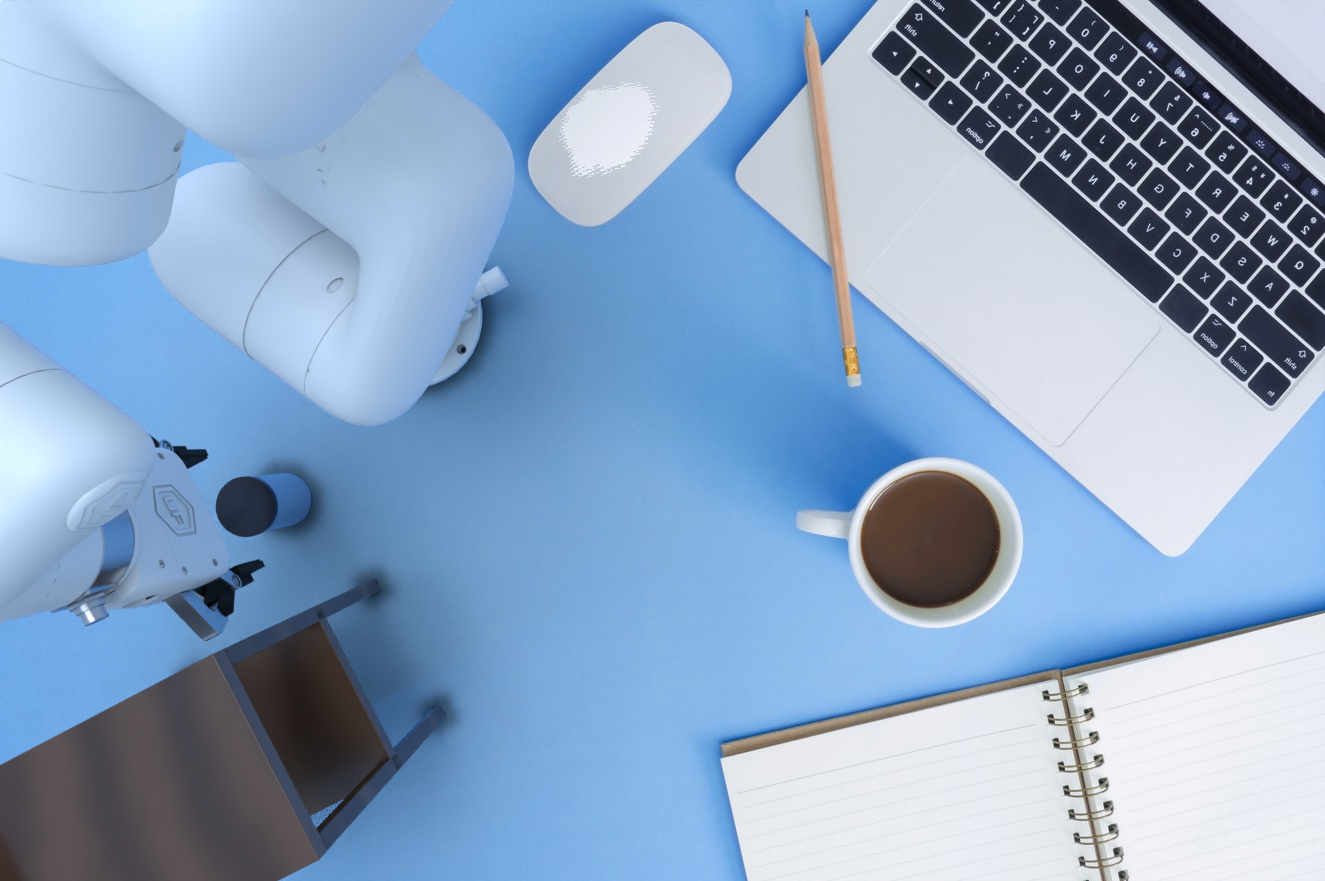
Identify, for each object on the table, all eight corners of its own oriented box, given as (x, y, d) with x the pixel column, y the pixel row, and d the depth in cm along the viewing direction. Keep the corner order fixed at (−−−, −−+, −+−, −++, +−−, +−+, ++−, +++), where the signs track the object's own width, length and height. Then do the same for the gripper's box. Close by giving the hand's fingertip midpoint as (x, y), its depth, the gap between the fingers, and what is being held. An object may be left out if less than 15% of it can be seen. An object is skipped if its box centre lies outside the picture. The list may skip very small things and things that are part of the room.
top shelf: (223, 648, 54) (193, 662, 51) (328, 850, 54) (304, 877, 51) (-50, 791, 55) (-96, 813, 52) (52, 989, 55) (12, 1024, 52)
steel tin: (296, 462, 79) (257, 465, 72) (322, 511, 79) (285, 519, 72) (249, 487, 79) (204, 493, 72) (274, 536, 79) (232, 547, 72)
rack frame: (375, 577, 79) (223, 648, 54) (446, 716, 79) (328, 850, 54) (184, 677, 80) (-50, 791, 55) (254, 814, 80) (52, 989, 55)
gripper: (184, 643, 52) (311, 592, 69) (52, 382, 52) (211, 396, 69) (74, 700, 52) (228, 636, 69) (-57, 441, 52) (128, 440, 69)
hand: (219, 516), depth 69 cm, fingers open, 9 cm apart
